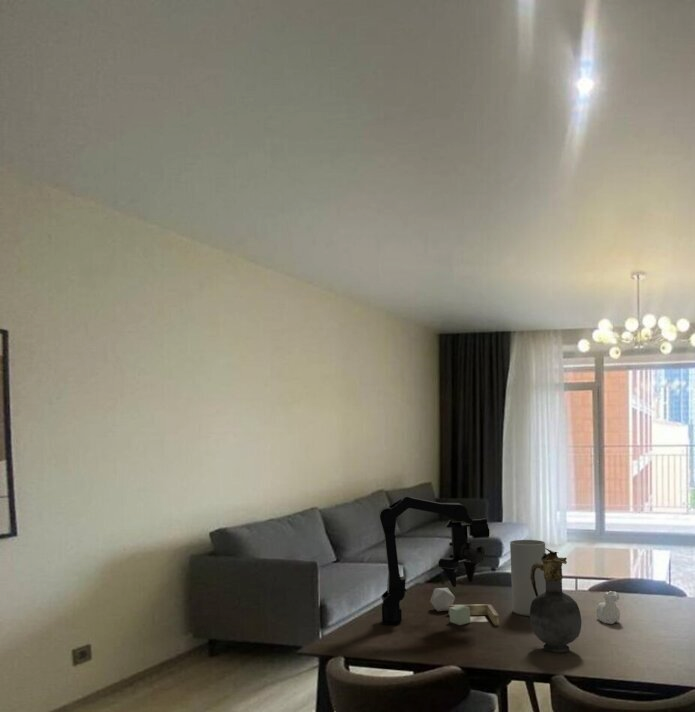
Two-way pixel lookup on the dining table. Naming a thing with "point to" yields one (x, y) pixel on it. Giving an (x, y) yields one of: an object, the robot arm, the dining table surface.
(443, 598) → the die
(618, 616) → the white figurine
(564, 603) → the pitcher
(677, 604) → the dining table surface
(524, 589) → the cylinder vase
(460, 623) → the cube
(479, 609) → the wooden corner guide
